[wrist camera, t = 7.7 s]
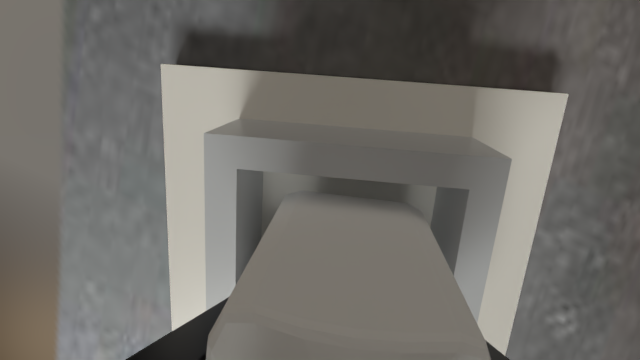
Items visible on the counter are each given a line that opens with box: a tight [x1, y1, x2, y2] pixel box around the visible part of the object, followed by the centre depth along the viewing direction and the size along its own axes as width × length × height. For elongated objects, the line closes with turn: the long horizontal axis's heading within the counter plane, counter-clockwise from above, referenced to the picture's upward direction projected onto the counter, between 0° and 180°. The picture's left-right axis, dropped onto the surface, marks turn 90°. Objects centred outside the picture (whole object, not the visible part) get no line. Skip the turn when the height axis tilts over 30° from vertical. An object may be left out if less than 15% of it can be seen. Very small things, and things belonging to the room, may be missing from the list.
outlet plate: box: [161, 64, 569, 355], centre depth 13 cm, size 18×12×4 cm, turn 176°
